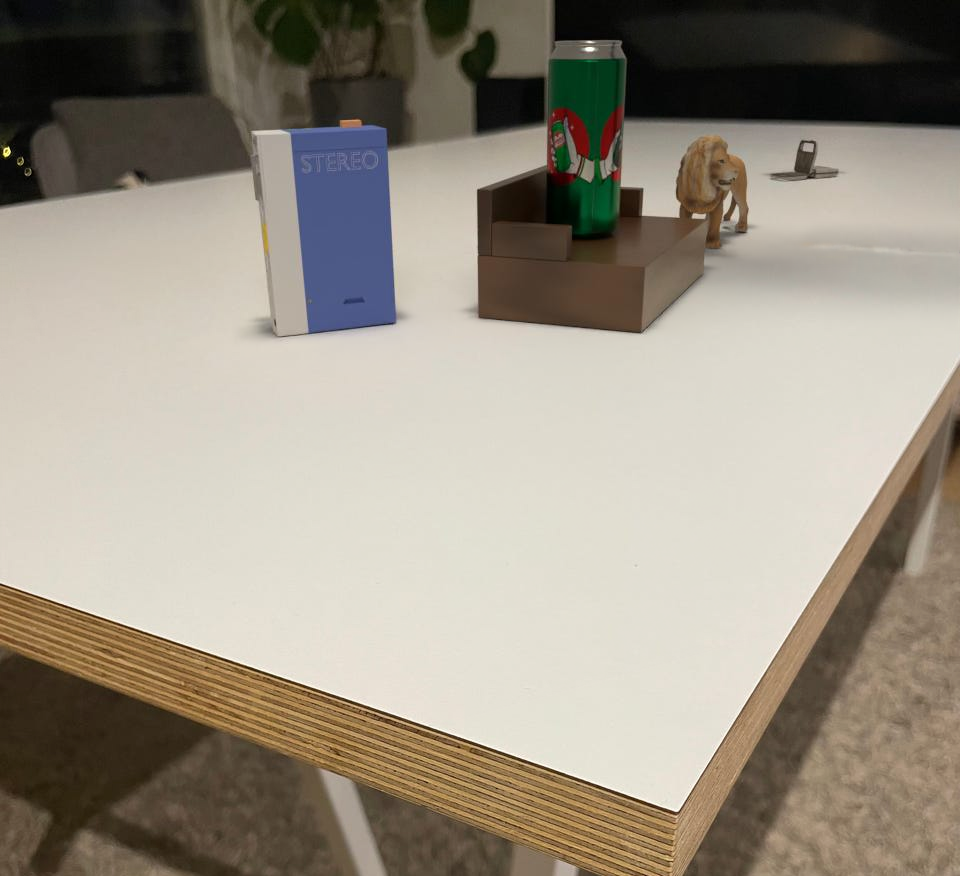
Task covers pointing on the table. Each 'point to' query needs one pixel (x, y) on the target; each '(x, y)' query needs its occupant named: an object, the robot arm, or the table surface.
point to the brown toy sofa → (580, 260)
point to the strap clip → (806, 165)
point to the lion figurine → (712, 185)
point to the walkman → (325, 226)
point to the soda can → (585, 136)
